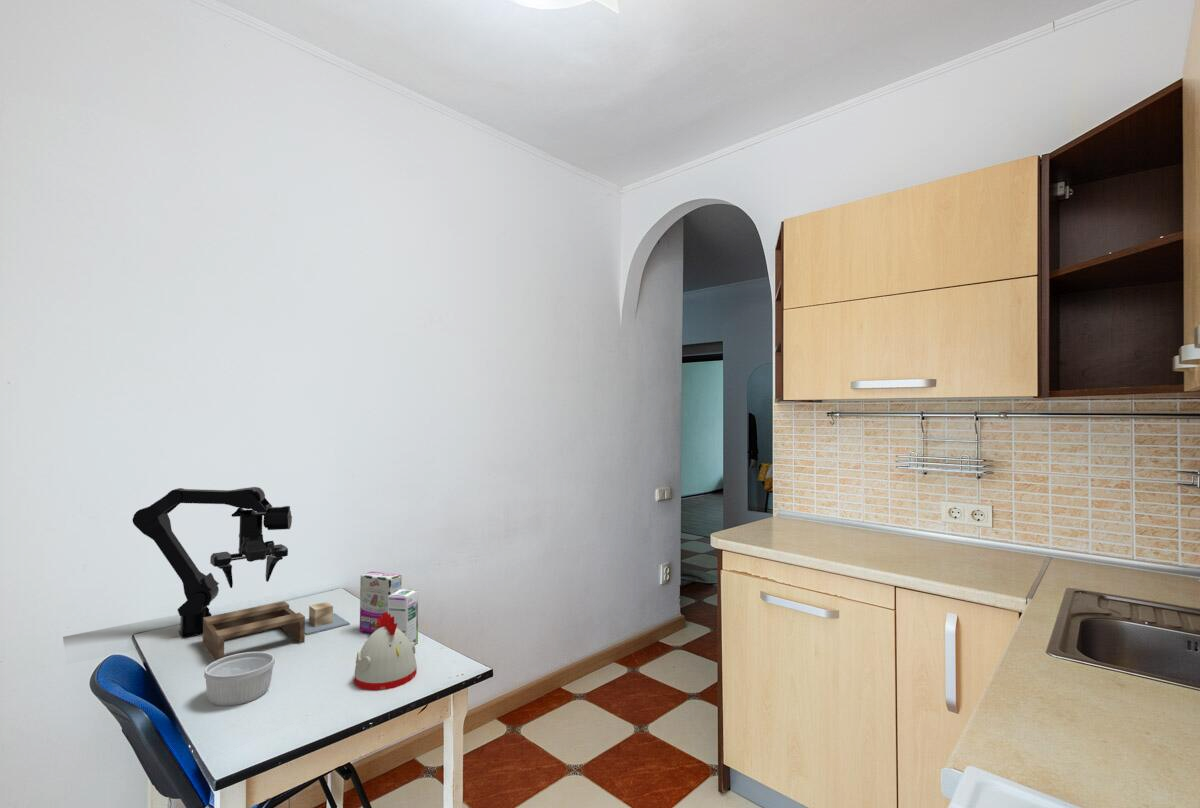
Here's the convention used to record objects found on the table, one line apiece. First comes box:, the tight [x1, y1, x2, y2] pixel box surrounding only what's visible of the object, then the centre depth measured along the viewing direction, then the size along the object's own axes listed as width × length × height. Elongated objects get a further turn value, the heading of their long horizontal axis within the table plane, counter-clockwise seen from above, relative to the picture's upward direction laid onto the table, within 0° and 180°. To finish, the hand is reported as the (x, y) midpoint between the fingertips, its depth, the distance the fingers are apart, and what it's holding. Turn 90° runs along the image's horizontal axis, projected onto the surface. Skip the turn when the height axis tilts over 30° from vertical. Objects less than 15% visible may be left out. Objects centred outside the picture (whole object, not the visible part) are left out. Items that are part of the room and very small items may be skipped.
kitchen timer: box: [353, 612, 418, 691], centre depth 136 cm, size 14×14×15 cm
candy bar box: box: [359, 571, 402, 635], centre depth 163 cm, size 11×5×16 cm, turn 68°
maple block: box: [308, 601, 334, 627], centre depth 169 cm, size 5×5×5 cm
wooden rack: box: [202, 600, 306, 661], centre depth 155 cm, size 20×18×7 cm
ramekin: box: [203, 651, 275, 707], centre depth 126 cm, size 13×13×7 cm
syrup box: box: [388, 588, 419, 645], centre depth 153 cm, size 6×6×14 cm
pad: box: [305, 612, 350, 636], centre depth 169 cm, size 12×12×1 cm
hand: (249, 584), depth 166 cm, fingers open, 9 cm apart
